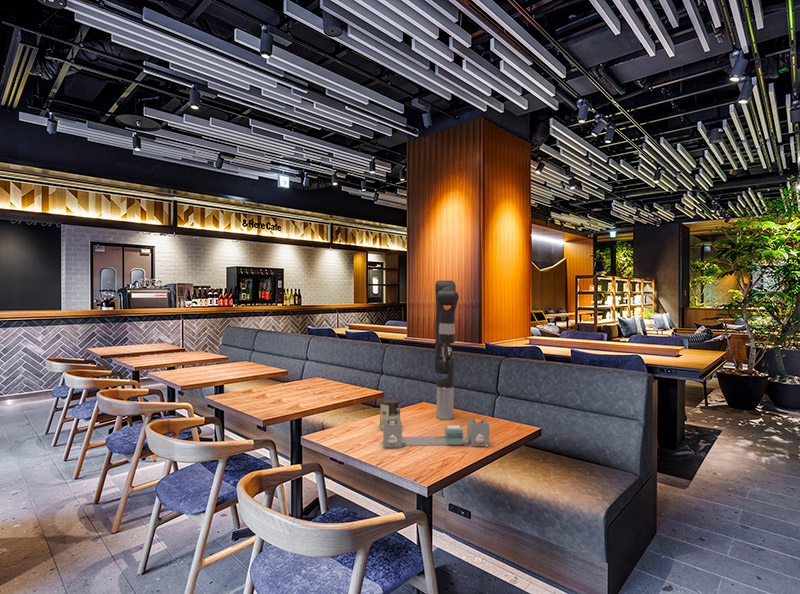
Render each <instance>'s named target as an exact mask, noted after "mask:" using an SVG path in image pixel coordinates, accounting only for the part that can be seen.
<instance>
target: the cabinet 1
mask: <svg viewBox="0 0 800 594" xmlns="http://www.w3.org/2000/svg"><path fill="white" fill-rule="evenodd" d="M402 437H403V424H402V421H401V419H400V420H383V430H382V445H383V449H401V448H403V447H402Z"/></svg>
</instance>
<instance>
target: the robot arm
mask: <svg viewBox="0 0 800 594" xmlns="http://www.w3.org/2000/svg"><path fill="white" fill-rule="evenodd" d="M456 287H457V286H456V283H455V281H453V280H436V282H435V287H434V288H435V290H434V291H435V296H434V297H435V323H434V324H435V325H434V326H435V327H434V328H435V334H434V335H435V336H434V337H435V347H434V350H435V351H434V362H433V363H434V365H433V366H434V368H433V369H434V373H435V374H437V375H439V374H440V375H447V376H446V377H444V378H441V379H438V380H437V381H436V410H435V411H436V415H435V416H436V418H437V419H439V420H444V421H449V420H452V419H454V399H455V398H454V397H455V395H454V391H455V390H454V389H455V387H454V386H455V385H454V379H455V377H454V376H455V375H454V374H455V359H454V358H453V357H452V355H453V351H452V350H453V349H452V346H451V344H455V342H456V339H455V338H456V326H455V325H456V324H455V315H456V310H457V306H458V302H459V299H460V295H459V293H458V292H457V290H456V289H457V288H456ZM445 306H450V308H448V309H446V308H445ZM441 355H442V356H441Z"/></svg>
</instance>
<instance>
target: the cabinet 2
mask: <svg viewBox="0 0 800 594" xmlns="http://www.w3.org/2000/svg"><path fill="white" fill-rule="evenodd" d="M475 419H476V418H467V419H466V420H467V421H466V425H467V426H466V436H467V438H468V442H469V443H468V445H471V446H486V445H489V446H490V423H489V422H488V421H487V420H486V419H485V418H480V419H481V423H475ZM471 446H470V447H471Z"/></svg>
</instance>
